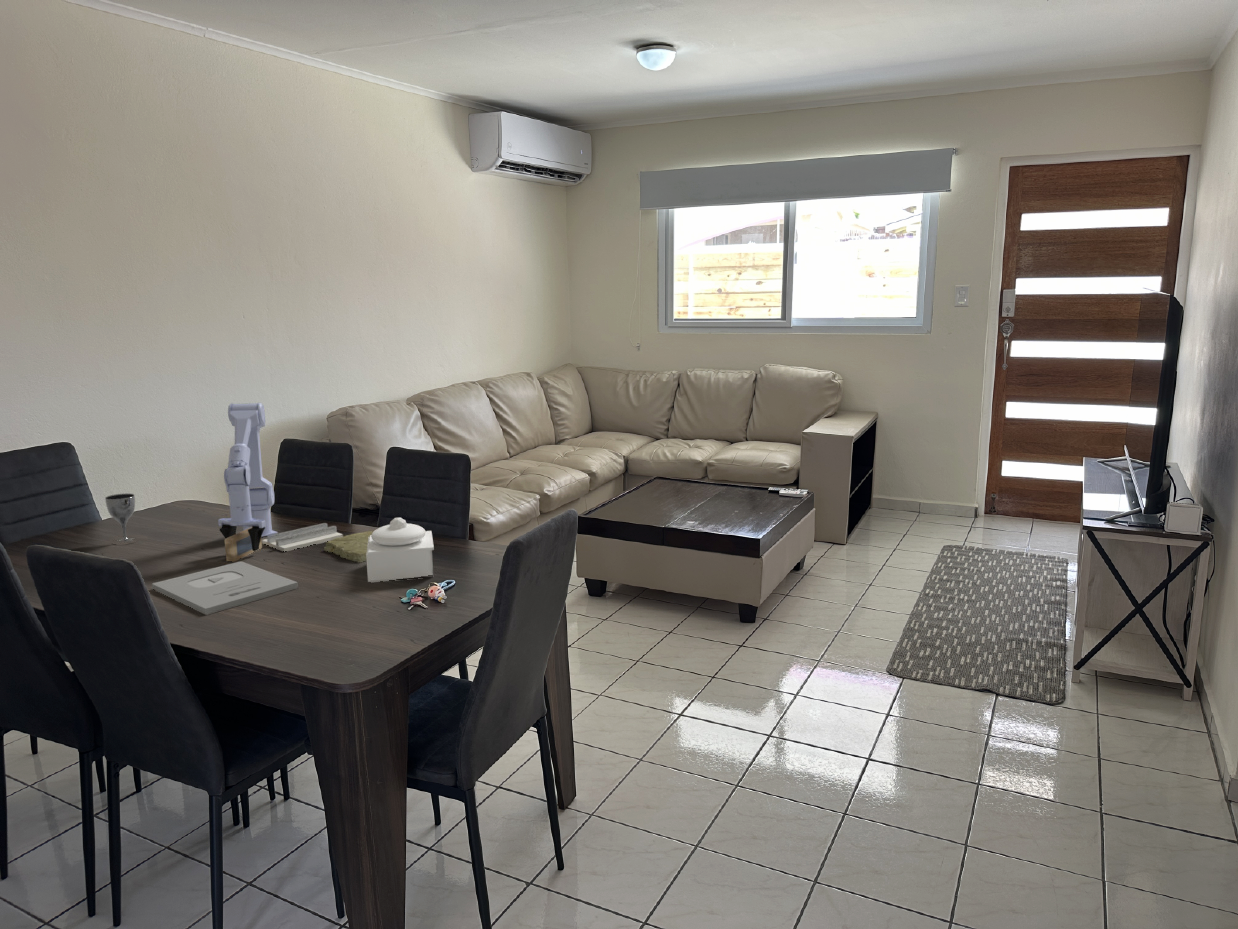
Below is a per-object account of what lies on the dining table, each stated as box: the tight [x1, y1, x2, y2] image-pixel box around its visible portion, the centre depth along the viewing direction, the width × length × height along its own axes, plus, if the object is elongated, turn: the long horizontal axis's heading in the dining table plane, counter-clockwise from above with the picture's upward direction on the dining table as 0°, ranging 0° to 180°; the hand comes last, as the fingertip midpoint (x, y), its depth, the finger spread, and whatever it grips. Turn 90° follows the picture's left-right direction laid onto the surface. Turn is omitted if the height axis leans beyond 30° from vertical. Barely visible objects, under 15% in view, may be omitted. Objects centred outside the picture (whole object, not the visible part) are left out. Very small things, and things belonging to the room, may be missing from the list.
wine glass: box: [105, 492, 136, 541], centre depth 268 cm, size 8×8×15 cm
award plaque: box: [151, 560, 299, 616], centre depth 225 cm, size 25×30×2 cm
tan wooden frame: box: [223, 527, 263, 563], centre depth 255 cm, size 3×14×7 cm, turn 169°
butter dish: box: [366, 517, 435, 583], centre depth 238 cm, size 18×18×16 cm
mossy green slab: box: [323, 530, 374, 563], centre depth 259 cm, size 19×20×4 cm
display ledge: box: [261, 522, 344, 553], centre depth 269 cm, size 14×20×3 cm
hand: (244, 549), depth 255 cm, fingers open, 7 cm apart
